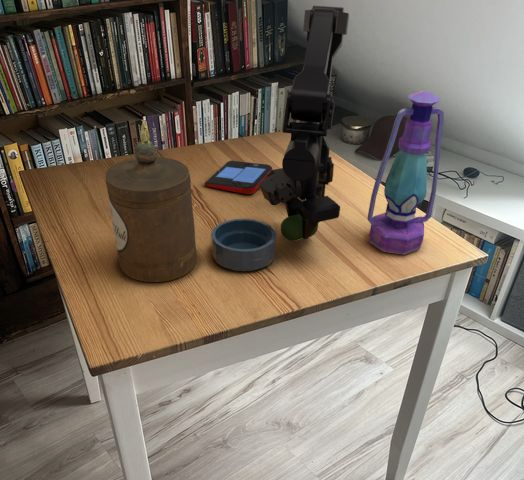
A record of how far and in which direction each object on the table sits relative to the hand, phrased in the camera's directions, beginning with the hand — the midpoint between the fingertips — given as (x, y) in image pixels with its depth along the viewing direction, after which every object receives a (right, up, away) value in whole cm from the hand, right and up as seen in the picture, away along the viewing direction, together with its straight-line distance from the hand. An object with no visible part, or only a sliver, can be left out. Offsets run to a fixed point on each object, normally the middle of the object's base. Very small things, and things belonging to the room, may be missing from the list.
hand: (299, 232), depth 115 cm
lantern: (+20, -2, +3) cm, 20 cm away
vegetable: (-32, +6, +9) cm, 34 cm away
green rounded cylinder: (0, -1, +1) cm, 1 cm away
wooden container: (-28, -7, -5) cm, 29 cm away
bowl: (-11, -5, -3) cm, 13 cm away
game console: (-13, +18, +23) cm, 32 cm away
